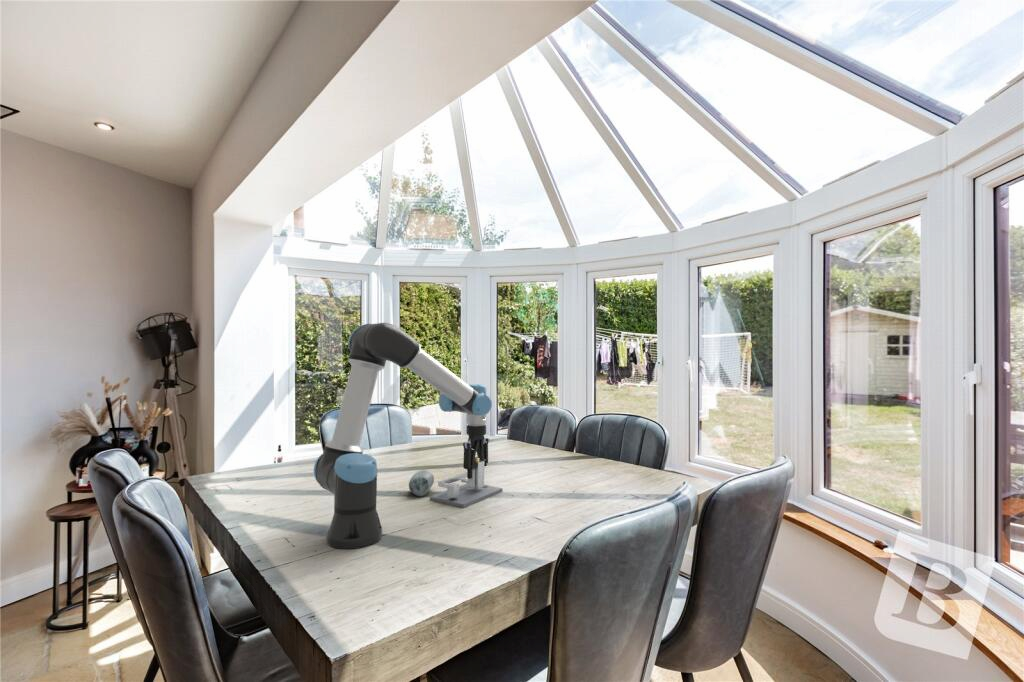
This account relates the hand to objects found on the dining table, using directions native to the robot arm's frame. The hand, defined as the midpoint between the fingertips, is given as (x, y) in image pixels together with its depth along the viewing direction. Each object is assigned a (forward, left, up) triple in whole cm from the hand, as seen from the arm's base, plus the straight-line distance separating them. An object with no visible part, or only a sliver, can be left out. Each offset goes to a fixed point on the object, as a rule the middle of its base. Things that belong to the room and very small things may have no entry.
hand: (475, 484), depth 181 cm
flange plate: (-4, +1, -3) cm, 5 cm away
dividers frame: (-3, +3, -2) cm, 5 cm away
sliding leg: (0, +2, -2) cm, 3 cm away
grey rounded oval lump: (-11, +18, -4) cm, 21 cm away
